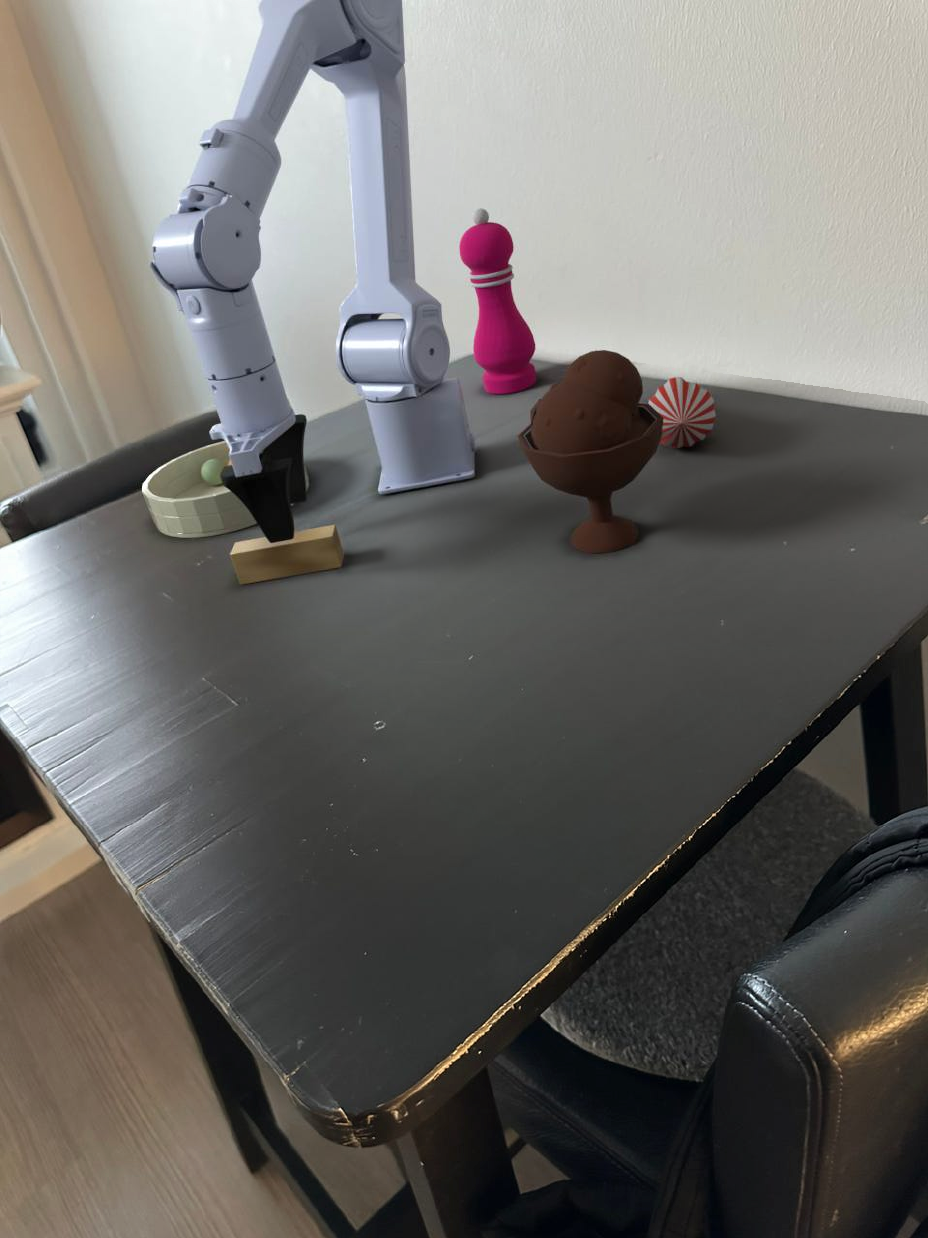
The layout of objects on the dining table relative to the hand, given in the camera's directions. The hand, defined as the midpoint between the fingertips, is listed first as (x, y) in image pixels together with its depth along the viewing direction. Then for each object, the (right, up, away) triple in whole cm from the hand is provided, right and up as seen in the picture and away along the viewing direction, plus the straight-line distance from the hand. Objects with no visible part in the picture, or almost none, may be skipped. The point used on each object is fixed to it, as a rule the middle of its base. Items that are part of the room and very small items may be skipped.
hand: (288, 520), depth 89 cm
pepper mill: (+21, +19, +33) cm, 43 cm away
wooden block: (0, -4, 0) cm, 4 cm away
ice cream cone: (+36, +9, +10) cm, 39 cm away
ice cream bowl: (+26, -2, -6) cm, 27 cm away
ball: (-12, +7, +21) cm, 25 cm away
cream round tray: (-9, +4, +18) cm, 20 cm away
